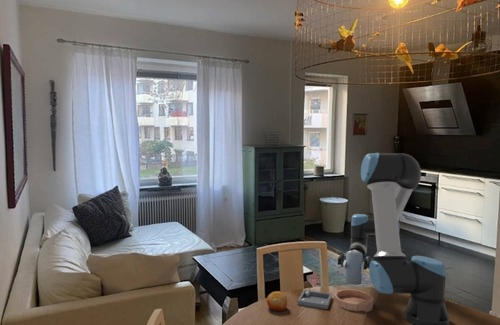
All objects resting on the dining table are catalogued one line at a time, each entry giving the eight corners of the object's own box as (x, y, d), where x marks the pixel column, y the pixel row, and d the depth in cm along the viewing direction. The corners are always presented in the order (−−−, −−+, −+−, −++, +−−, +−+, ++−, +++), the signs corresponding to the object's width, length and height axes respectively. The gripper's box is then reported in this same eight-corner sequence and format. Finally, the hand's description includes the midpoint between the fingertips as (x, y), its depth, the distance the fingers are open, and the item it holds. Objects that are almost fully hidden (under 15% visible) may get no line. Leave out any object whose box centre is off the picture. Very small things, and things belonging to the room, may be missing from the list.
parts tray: (331, 299, 162) (331, 293, 161) (327, 311, 150) (327, 304, 150) (303, 295, 166) (303, 289, 165) (297, 306, 154) (297, 299, 154)
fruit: (287, 300, 156) (287, 288, 152) (286, 318, 150) (287, 305, 145) (267, 299, 157) (267, 287, 153) (266, 316, 151) (265, 304, 146)
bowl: (373, 300, 161) (373, 292, 161) (371, 315, 147) (372, 306, 147) (336, 295, 166) (337, 287, 166) (332, 309, 152) (332, 300, 152)
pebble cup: (362, 280, 159) (363, 248, 158) (361, 285, 153) (362, 253, 152) (346, 278, 161) (347, 247, 160) (344, 283, 155) (345, 251, 154)
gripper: (379, 263, 170) (378, 281, 148) (335, 258, 177) (328, 275, 155) (380, 247, 170) (379, 262, 148) (335, 242, 176) (328, 256, 154)
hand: (353, 269), depth 151 cm, fingers closed on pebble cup, 6 cm apart
